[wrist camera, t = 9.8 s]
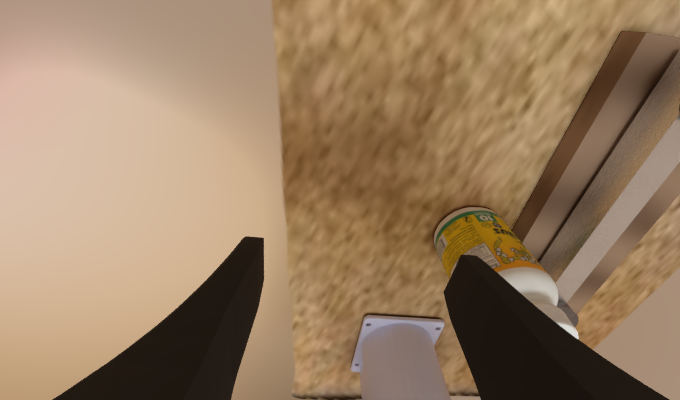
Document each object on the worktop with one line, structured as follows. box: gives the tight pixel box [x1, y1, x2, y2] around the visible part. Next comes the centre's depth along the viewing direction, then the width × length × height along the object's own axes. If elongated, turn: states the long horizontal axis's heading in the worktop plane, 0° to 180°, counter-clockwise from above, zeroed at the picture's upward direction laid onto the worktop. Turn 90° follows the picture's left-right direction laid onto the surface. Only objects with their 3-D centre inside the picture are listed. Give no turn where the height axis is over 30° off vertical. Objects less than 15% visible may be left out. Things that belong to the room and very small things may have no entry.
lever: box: [539, 50, 680, 327], centre depth 18 cm, size 20×4×6 cm, turn 173°
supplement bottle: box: [434, 207, 579, 339], centre depth 19 cm, size 5×5×10 cm
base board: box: [512, 31, 680, 315], centre depth 22 cm, size 22×9×2 cm, turn 173°
